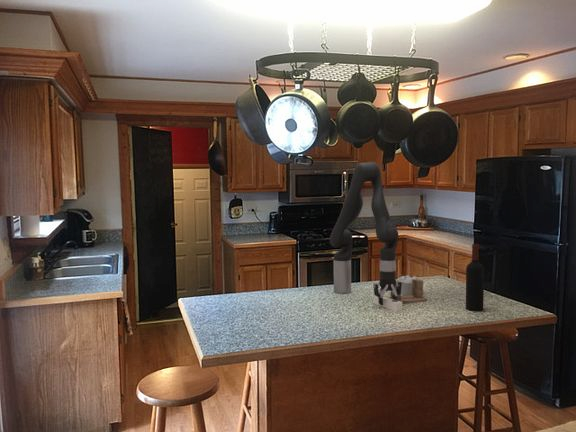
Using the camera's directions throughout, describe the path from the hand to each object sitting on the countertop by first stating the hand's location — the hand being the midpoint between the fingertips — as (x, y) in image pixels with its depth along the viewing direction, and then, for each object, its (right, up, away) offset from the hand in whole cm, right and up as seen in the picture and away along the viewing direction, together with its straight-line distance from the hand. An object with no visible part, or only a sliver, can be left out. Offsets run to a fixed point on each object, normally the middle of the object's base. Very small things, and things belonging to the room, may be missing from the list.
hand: (387, 304), depth 227 cm
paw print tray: (+16, +1, +25) cm, 30 cm away
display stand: (+12, 0, +11) cm, 16 cm away
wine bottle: (+38, -1, -7) cm, 39 cm away
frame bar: (0, -1, 0) cm, 1 cm away
